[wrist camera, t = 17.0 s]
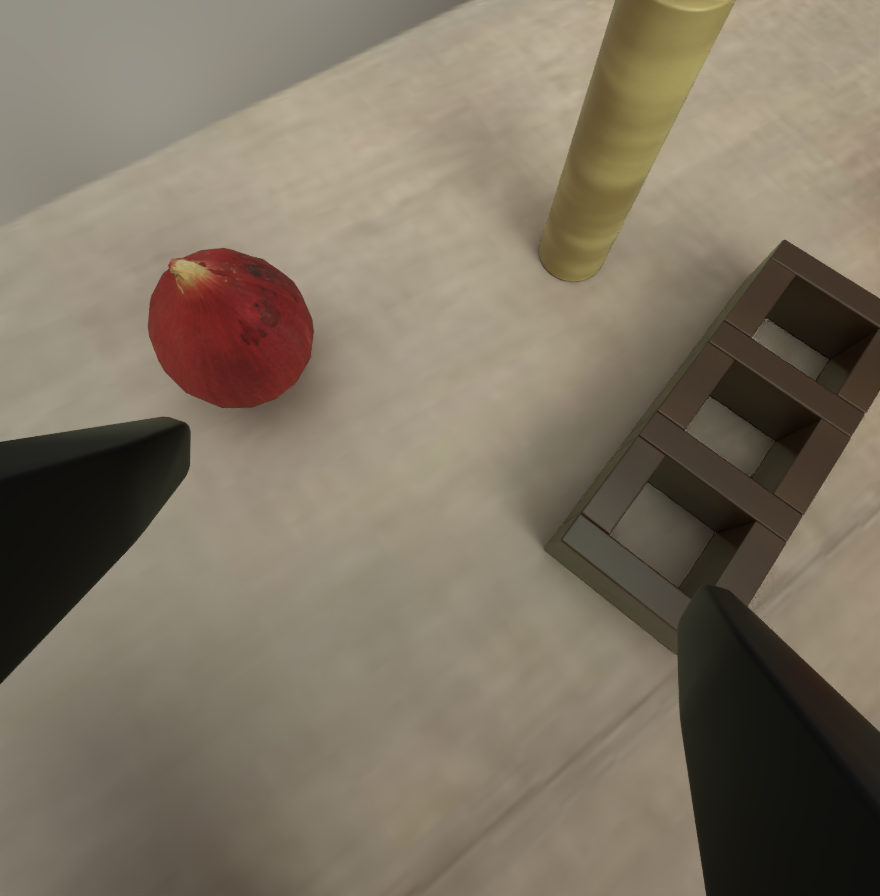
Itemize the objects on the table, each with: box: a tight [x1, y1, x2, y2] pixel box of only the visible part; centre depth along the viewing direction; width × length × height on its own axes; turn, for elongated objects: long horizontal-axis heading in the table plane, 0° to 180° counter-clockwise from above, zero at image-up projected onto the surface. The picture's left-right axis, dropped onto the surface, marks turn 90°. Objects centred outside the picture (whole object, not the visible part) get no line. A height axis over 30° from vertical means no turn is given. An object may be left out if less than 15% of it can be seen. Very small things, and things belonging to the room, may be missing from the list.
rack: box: [544, 240, 880, 655], centre depth 23 cm, size 17×6×3 cm, turn 141°
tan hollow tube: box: [539, 0, 736, 281], centre depth 21 cm, size 3×3×12 cm
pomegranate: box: [148, 248, 314, 408], centre depth 21 cm, size 6×6×8 cm
